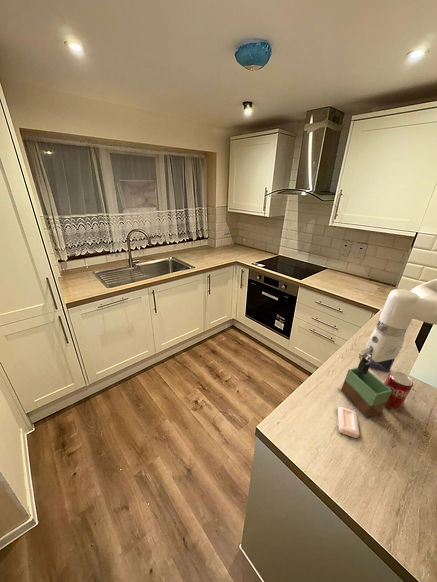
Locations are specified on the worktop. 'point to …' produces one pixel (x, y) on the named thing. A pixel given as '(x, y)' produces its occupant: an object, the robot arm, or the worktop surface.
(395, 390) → the soda can
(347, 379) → the green basket
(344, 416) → the soap bar
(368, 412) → the walnut basket
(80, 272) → the worktop surface
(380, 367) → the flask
